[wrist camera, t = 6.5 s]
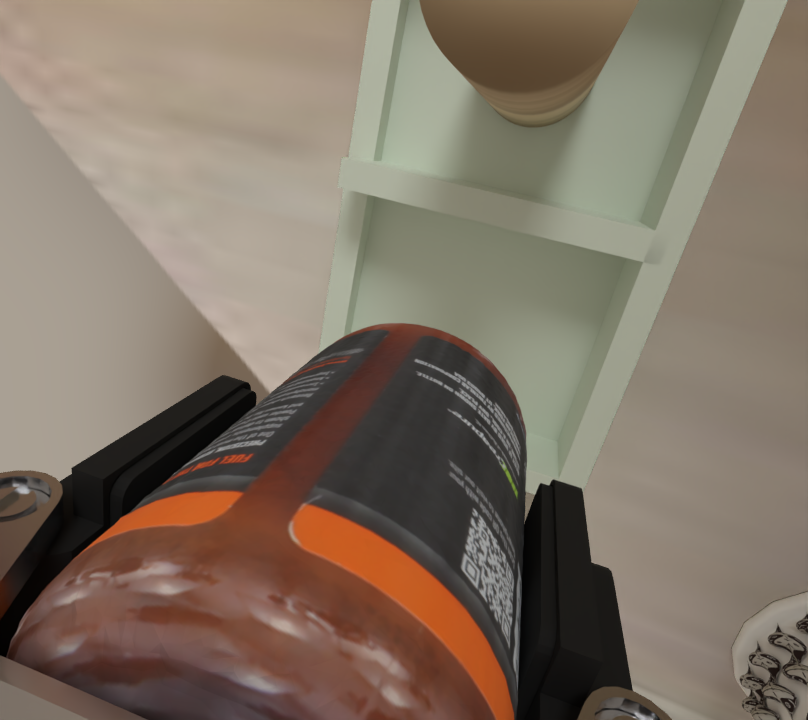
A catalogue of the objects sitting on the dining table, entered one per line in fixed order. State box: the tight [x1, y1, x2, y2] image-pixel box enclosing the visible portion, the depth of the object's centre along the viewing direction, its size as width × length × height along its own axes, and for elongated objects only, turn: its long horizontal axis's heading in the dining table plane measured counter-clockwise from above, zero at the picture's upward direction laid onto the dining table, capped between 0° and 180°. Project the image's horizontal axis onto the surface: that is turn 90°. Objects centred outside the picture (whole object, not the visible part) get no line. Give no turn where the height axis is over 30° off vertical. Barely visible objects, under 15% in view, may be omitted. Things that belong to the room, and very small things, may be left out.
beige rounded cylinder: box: [419, 0, 639, 127], centre depth 14 cm, size 4×4×10 cm
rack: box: [318, 0, 788, 495], centre depth 19 cm, size 20×12×4 cm, turn 168°
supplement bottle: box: [6, 323, 527, 720], centre depth 8 cm, size 6×6×11 cm
